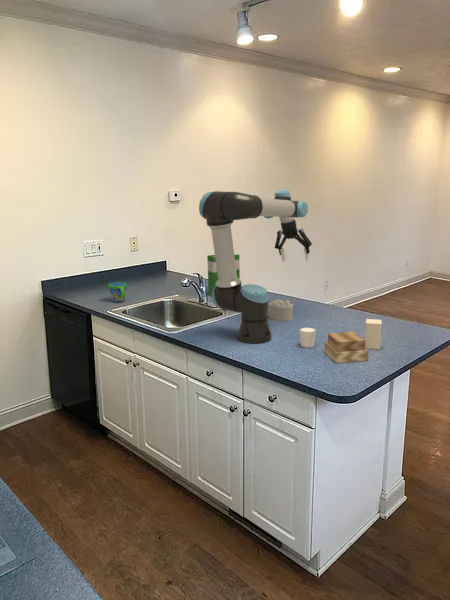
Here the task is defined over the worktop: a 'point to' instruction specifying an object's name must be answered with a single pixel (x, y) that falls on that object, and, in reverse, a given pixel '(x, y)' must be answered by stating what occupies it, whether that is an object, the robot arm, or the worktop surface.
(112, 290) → the snack cup
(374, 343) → the cream brick
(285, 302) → the lumpy-topped squat cylinder
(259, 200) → the robot arm
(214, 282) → the hardback book
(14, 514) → the worktop surface
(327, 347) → the block tower
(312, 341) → the shot glass
